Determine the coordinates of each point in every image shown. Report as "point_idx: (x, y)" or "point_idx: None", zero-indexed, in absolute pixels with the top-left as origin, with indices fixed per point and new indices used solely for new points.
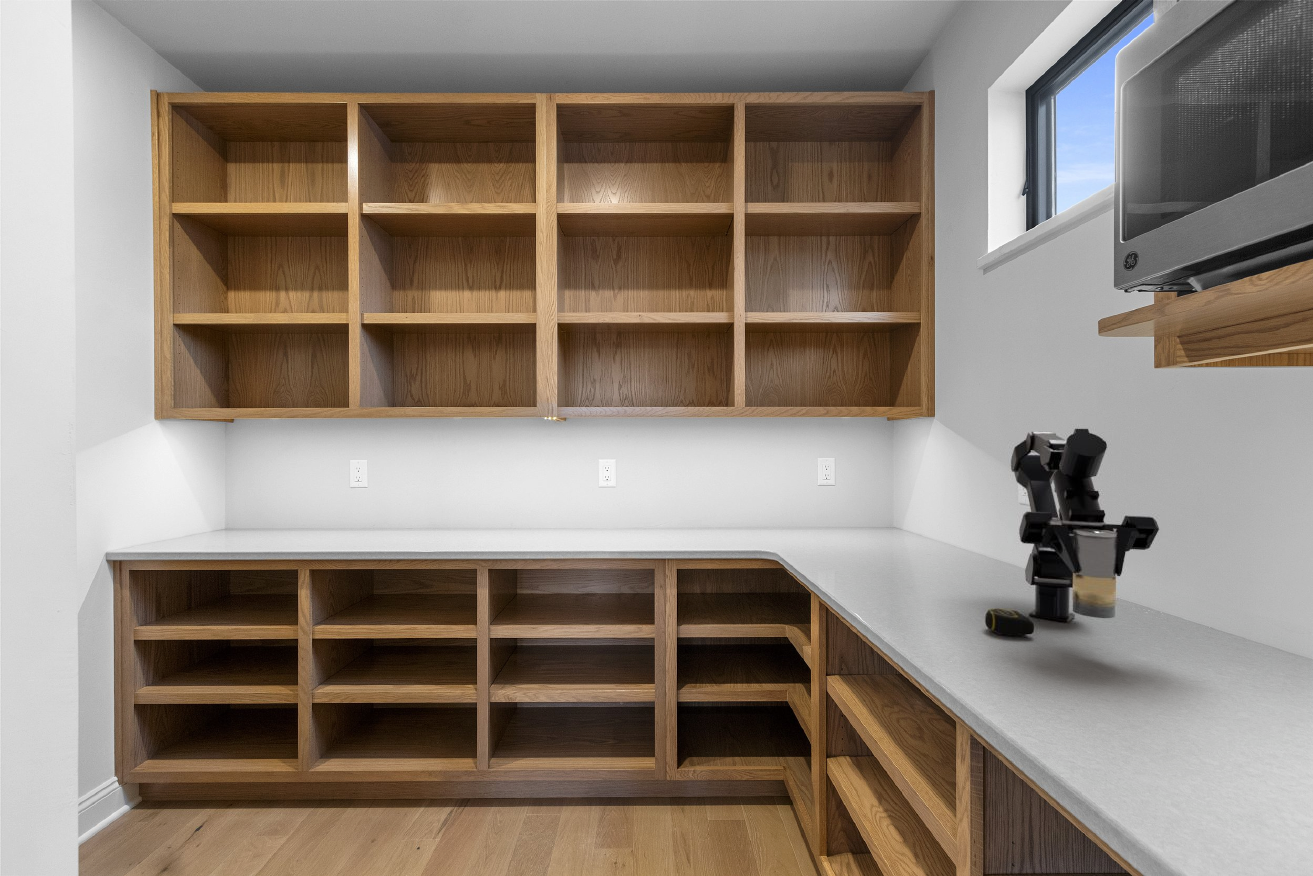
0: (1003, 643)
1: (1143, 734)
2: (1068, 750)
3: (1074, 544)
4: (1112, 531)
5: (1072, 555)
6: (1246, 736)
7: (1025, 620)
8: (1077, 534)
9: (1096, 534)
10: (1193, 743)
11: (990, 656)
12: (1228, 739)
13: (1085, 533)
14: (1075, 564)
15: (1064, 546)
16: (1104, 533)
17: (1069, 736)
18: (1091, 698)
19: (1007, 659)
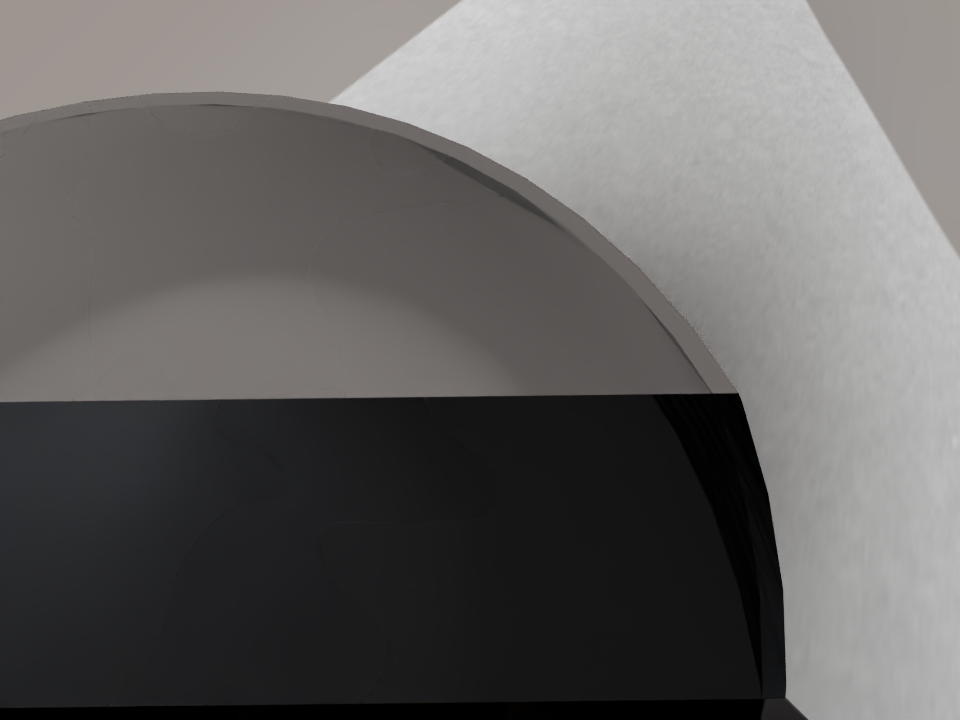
0: None
1: (610, 85)
2: (760, 31)
3: (637, 705)
4: None
5: None
6: (429, 95)
7: None
8: (733, 584)
9: (417, 138)
10: (543, 66)
11: (819, 512)
12: (471, 83)
13: (630, 270)
14: None
15: (804, 717)
16: (141, 179)
17: (742, 67)
18: (629, 217)
19: (766, 485)
